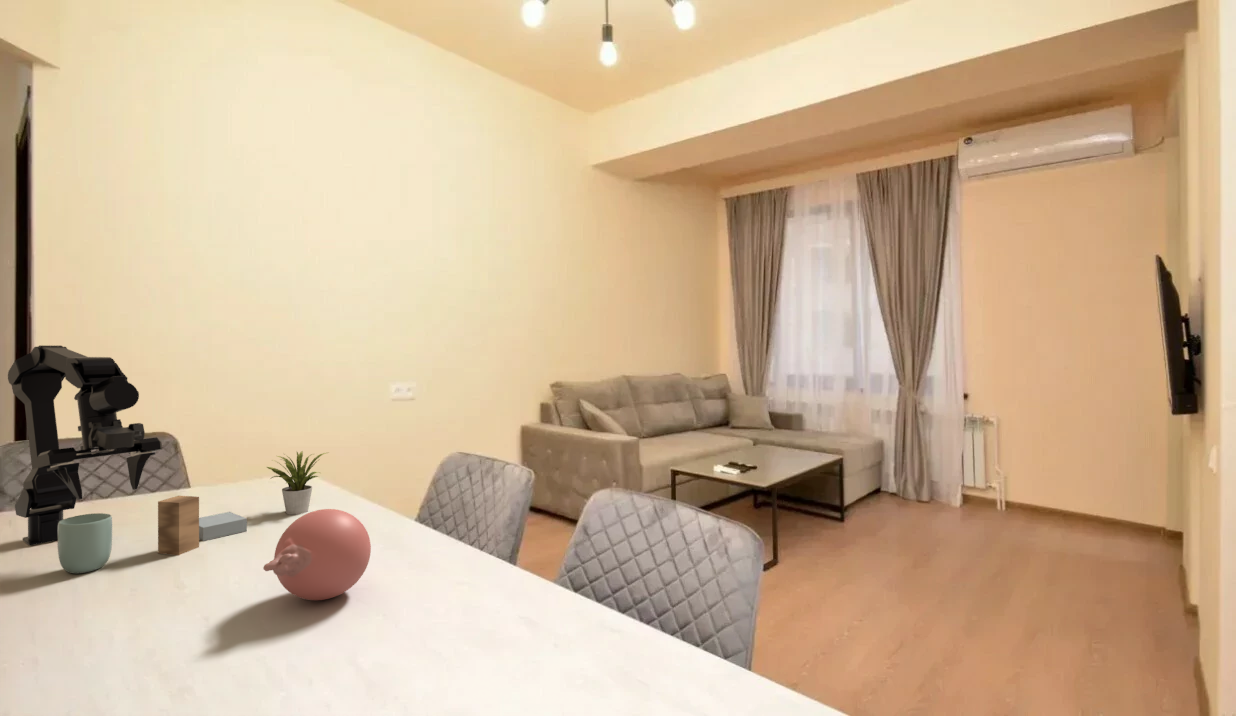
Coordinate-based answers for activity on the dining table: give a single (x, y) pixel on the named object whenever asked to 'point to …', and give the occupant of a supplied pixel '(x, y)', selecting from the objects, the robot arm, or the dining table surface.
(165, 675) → the dining table surface
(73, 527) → the cup
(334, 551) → the balloon
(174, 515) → the wooden block
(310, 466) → the house plant
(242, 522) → the pedestal
